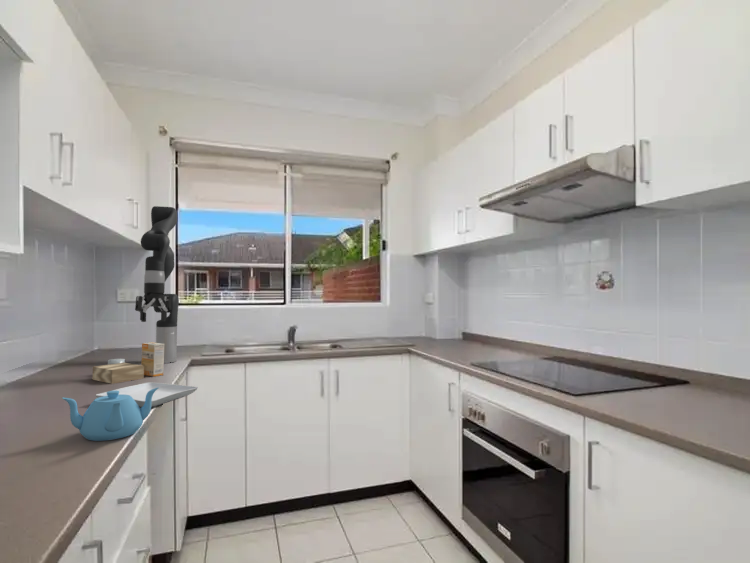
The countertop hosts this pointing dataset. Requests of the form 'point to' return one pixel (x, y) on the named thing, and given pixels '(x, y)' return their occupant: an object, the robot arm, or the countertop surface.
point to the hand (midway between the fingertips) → (153, 321)
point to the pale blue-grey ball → (116, 361)
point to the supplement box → (153, 358)
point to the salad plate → (160, 395)
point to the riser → (118, 372)
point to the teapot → (110, 416)
